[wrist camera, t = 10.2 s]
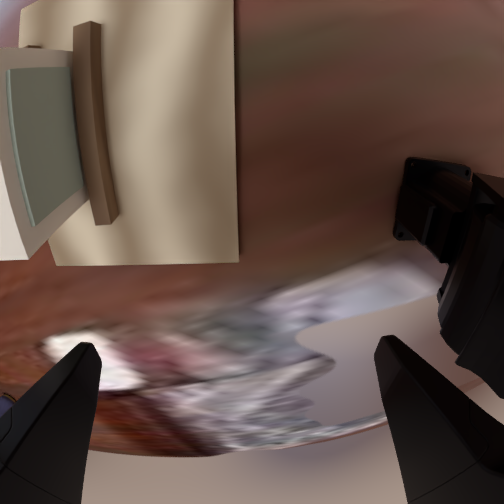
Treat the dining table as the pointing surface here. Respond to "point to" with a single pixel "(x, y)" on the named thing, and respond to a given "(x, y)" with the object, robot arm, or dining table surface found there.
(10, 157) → the white block
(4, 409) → the rubber mallet
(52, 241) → the display stand
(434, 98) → the dining table surface
